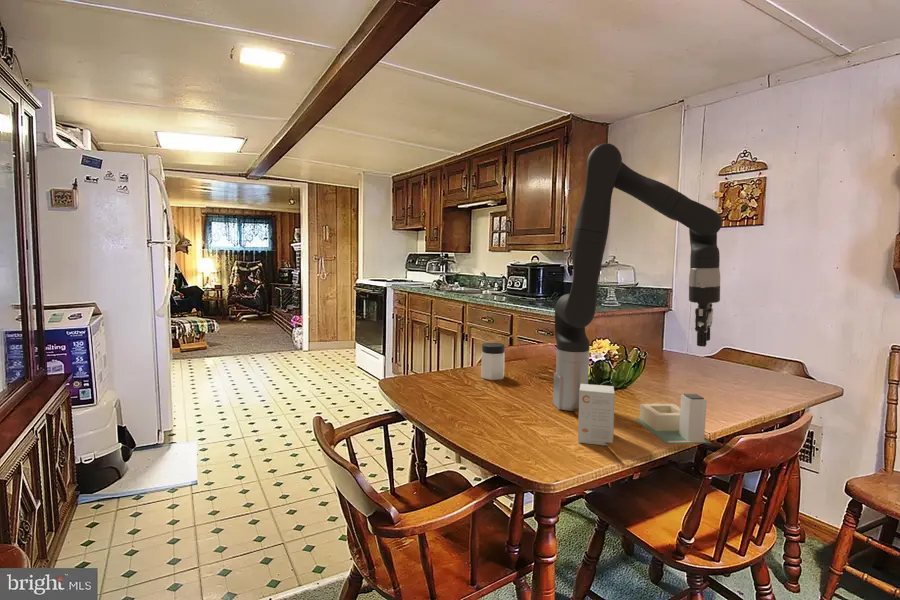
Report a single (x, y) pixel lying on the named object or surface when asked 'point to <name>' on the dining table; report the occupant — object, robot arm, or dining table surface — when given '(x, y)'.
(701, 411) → the plug
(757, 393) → the dining table surface
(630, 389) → the dining table surface
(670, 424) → the beige square socket
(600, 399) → the small box
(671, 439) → the board
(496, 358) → the jar
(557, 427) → the dining table surface
